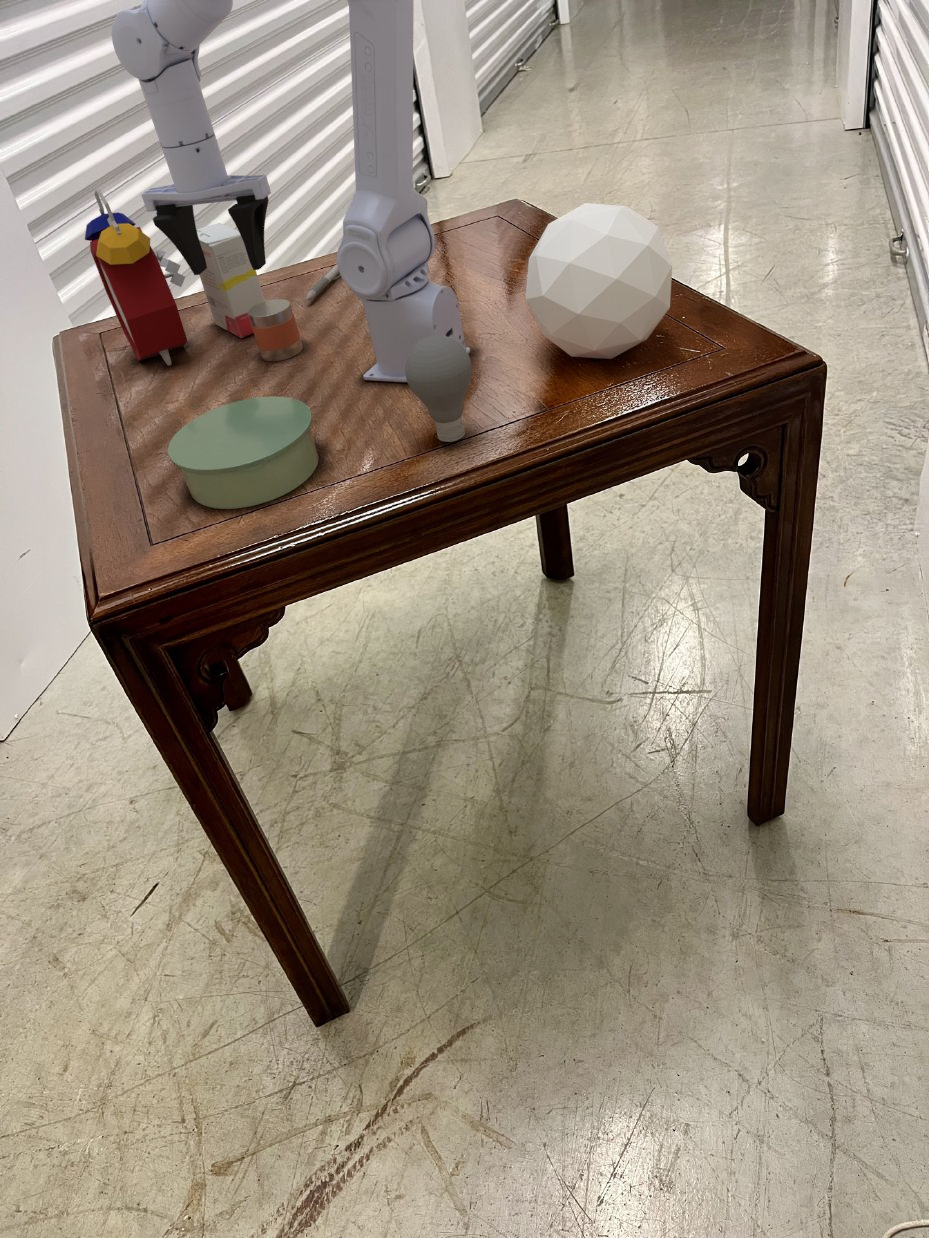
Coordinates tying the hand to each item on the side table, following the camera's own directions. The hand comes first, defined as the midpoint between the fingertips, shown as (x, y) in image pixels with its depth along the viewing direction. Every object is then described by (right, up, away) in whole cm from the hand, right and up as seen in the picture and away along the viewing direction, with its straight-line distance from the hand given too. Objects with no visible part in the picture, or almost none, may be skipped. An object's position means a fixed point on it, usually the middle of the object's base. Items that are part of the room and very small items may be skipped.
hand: (230, 269), depth 107 cm
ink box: (-2, -2, +15) cm, 15 cm away
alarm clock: (-11, -6, +12) cm, 17 cm away
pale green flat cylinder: (+7, -26, -17) cm, 31 cm away
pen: (+8, +5, +21) cm, 23 cm away
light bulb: (+26, -23, -18) cm, 39 cm away
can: (+5, -8, +5) cm, 11 cm away
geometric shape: (+41, -12, -9) cm, 44 cm away
